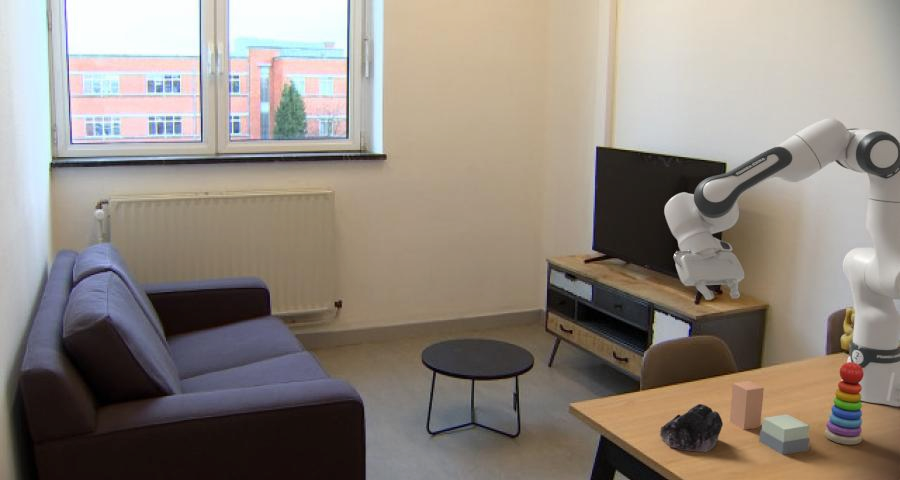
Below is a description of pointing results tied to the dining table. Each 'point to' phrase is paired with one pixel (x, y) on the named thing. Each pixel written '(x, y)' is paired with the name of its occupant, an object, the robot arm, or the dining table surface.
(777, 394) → the dining table surface
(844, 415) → the stacking toy
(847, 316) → the decorative figurine
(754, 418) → the terracotta brick
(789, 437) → the two-tone pastel block
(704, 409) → the crystal cluster
